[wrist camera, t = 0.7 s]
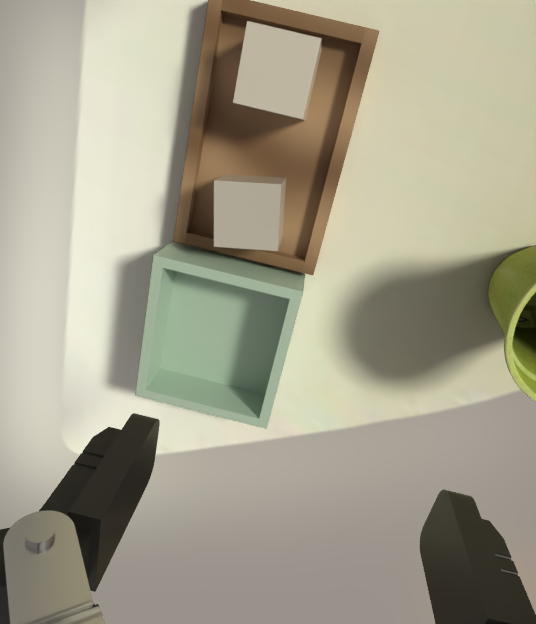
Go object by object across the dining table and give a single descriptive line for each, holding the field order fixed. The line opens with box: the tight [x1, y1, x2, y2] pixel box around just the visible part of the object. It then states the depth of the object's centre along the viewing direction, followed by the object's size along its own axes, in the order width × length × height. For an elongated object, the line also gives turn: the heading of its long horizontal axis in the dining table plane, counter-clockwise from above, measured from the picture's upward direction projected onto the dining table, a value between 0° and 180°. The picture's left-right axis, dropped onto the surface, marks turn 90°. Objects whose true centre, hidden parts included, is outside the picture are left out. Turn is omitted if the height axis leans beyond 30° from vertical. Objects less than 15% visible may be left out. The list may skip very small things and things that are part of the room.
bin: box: [135, 242, 305, 429], centre depth 34 cm, size 11×10×4 cm
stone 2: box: [214, 174, 286, 251], centre depth 30 cm, size 4×4×4 cm
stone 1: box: [233, 21, 322, 120], centre depth 27 cm, size 4×4×4 cm
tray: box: [174, 0, 379, 275], centre depth 30 cm, size 15×10×2 cm, turn 167°
